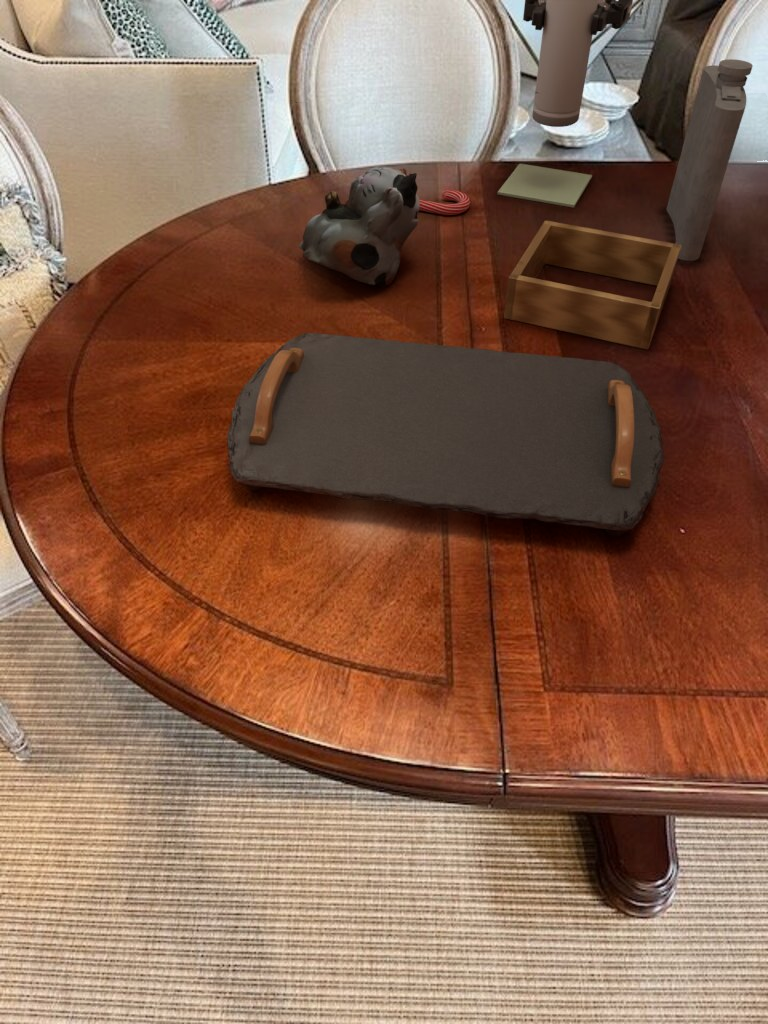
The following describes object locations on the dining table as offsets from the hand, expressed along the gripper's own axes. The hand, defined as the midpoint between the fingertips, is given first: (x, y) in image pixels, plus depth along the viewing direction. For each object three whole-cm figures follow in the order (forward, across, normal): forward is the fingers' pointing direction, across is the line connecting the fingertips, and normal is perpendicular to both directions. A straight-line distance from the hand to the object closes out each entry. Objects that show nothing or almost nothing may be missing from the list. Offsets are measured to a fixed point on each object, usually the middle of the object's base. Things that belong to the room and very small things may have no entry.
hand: (566, 23), depth 96 cm
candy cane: (+10, -16, +21) cm, 28 cm away
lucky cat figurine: (+29, -18, +21) cm, 40 cm away
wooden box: (+28, +10, +21) cm, 36 cm away
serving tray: (+57, +1, +20) cm, 61 cm away
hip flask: (+7, +20, +21) cm, 30 cm away
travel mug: (-2, 0, +12) cm, 12 cm away
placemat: (-2, 0, +21) cm, 21 cm away
